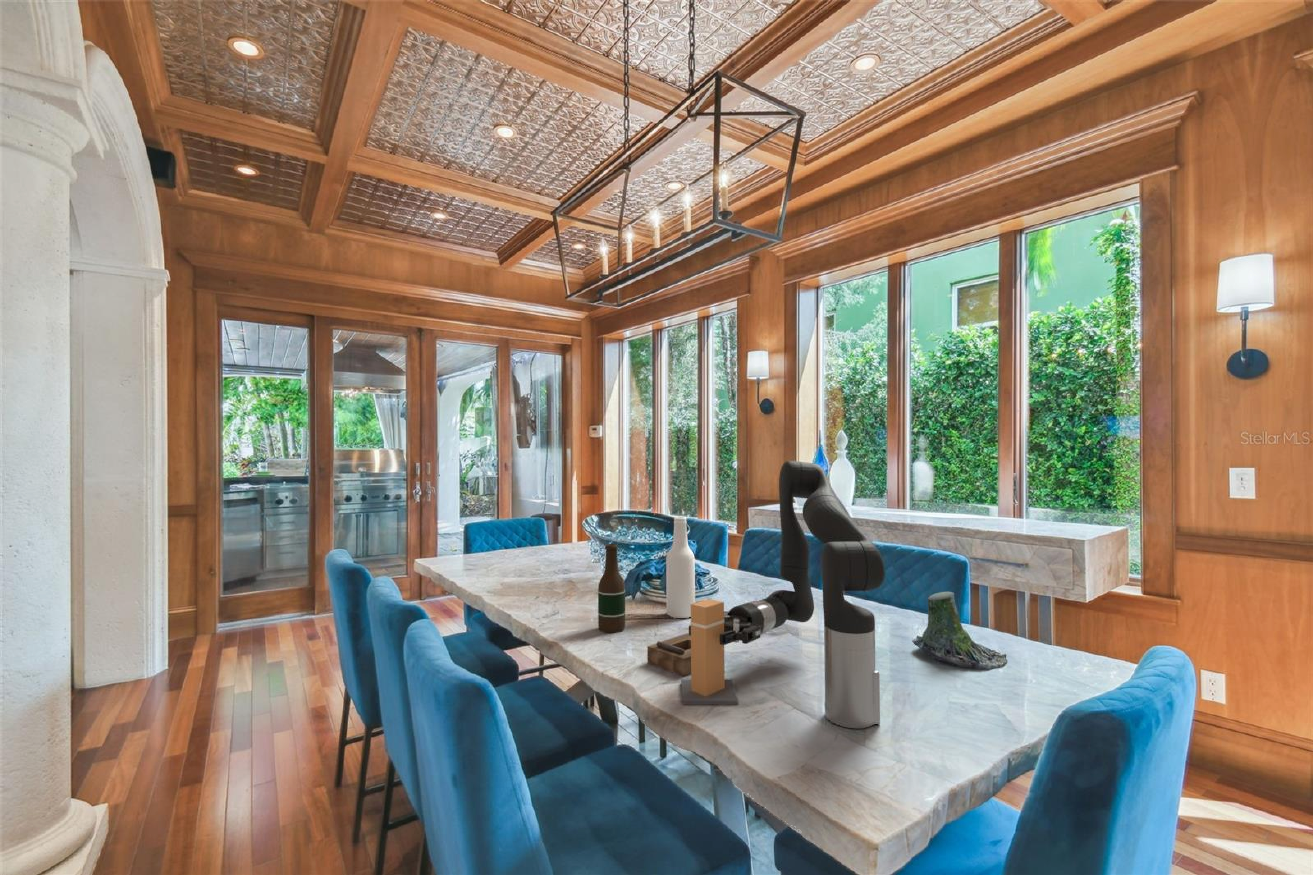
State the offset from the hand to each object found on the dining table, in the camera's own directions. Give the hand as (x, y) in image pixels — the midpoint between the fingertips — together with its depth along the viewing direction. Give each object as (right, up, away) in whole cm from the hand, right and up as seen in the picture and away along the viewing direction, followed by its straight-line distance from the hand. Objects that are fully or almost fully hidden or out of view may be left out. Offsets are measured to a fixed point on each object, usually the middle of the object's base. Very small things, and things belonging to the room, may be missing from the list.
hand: (705, 635), depth 124 cm
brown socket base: (-3, -13, +19) cm, 23 cm away
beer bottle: (-23, -13, +45) cm, 52 cm away
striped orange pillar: (+1, -12, 0) cm, 12 cm away
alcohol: (-3, -14, +59) cm, 60 cm away
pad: (+1, -12, 0) cm, 12 cm away
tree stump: (+64, -13, +21) cm, 68 cm away
